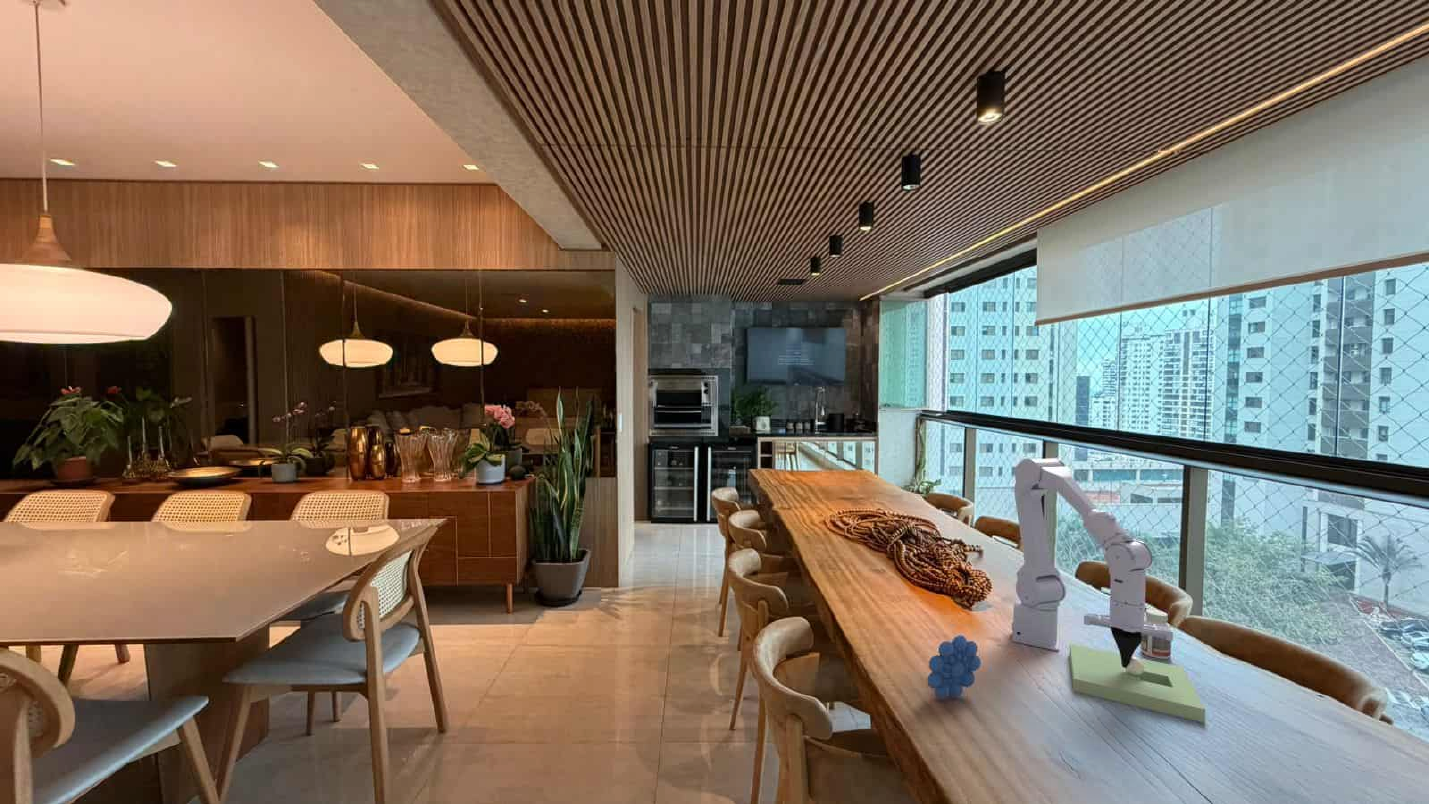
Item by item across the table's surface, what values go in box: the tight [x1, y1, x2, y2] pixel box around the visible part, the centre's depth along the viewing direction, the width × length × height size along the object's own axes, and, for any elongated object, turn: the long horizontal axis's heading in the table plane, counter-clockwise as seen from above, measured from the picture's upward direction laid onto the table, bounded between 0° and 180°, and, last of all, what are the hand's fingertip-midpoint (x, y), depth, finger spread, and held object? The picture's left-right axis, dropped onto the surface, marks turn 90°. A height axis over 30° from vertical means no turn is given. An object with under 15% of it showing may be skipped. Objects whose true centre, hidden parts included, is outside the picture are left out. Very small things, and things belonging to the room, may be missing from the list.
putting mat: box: [1069, 643, 1206, 724], centre depth 112 cm, size 20×18×2 cm
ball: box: [1125, 655, 1145, 675], centre depth 112 cm, size 4×4×4 cm
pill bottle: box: [1140, 608, 1172, 660], centre depth 126 cm, size 5×5×10 cm
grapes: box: [926, 635, 981, 699], centre depth 108 cm, size 12×7×12 cm, turn 105°
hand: (1125, 666), depth 113 cm, fingers closed, pressing on ball
